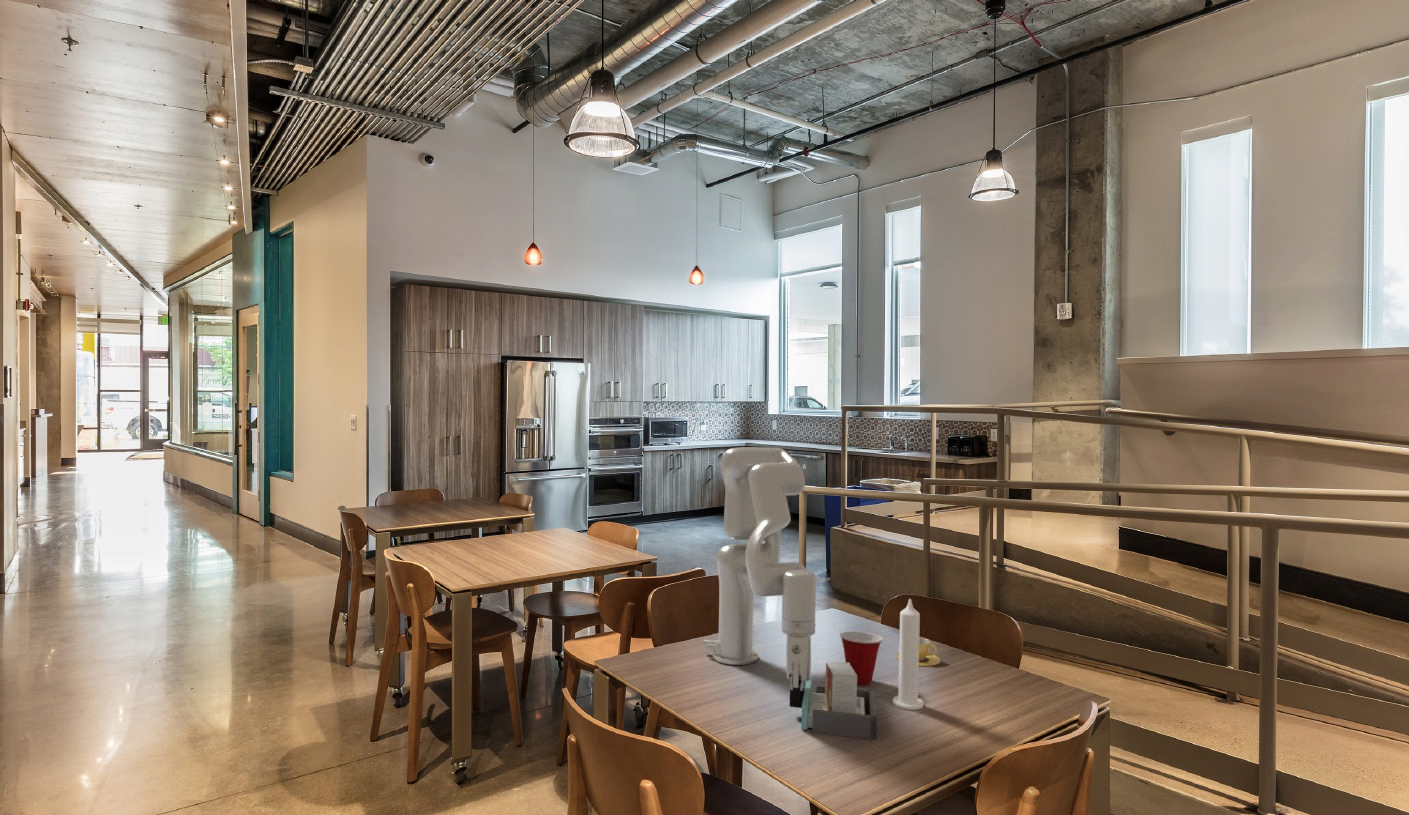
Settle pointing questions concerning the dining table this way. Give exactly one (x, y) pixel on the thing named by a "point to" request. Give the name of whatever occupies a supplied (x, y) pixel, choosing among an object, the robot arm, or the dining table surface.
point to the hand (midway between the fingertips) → (796, 705)
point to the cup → (926, 653)
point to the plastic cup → (861, 653)
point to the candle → (909, 660)
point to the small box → (840, 687)
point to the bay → (847, 718)
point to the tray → (819, 705)
